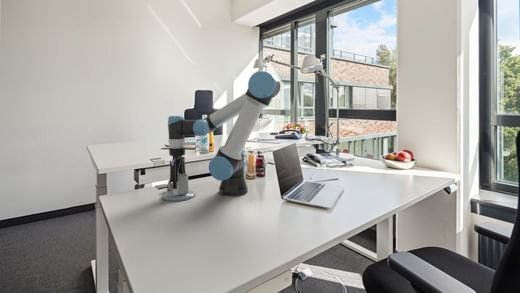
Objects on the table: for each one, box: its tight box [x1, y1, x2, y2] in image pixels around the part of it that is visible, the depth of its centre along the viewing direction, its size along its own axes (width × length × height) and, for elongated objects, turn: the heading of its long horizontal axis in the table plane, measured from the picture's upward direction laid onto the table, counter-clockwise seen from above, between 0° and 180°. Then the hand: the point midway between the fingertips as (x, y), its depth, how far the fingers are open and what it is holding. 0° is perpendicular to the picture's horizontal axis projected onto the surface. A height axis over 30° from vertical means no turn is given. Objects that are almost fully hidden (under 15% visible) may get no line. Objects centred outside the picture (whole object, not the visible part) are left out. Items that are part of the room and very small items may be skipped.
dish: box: [161, 189, 196, 202], centre depth 143 cm, size 16×16×1 cm
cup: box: [167, 173, 190, 195], centre depth 141 cm, size 7×10×9 cm
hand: (178, 192), depth 142 cm, fingers closed on cup, 7 cm apart
